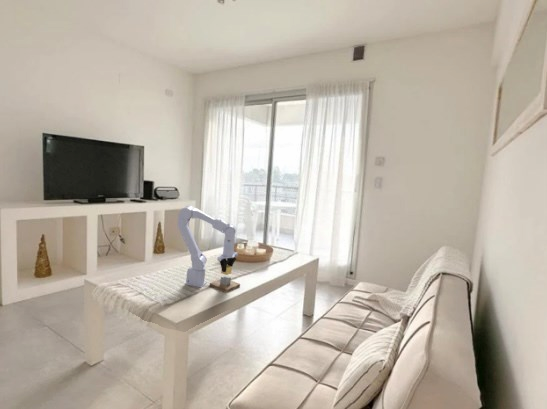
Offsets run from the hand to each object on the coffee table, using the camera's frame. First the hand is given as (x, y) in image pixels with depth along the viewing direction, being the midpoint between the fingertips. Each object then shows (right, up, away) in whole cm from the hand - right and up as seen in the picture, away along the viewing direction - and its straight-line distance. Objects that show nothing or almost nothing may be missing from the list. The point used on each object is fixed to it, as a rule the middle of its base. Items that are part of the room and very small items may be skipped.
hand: (226, 270), depth 169 cm
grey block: (-1, -8, +1) cm, 8 cm away
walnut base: (-1, -9, +1) cm, 9 cm away
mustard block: (0, -1, 0) cm, 2 cm away
